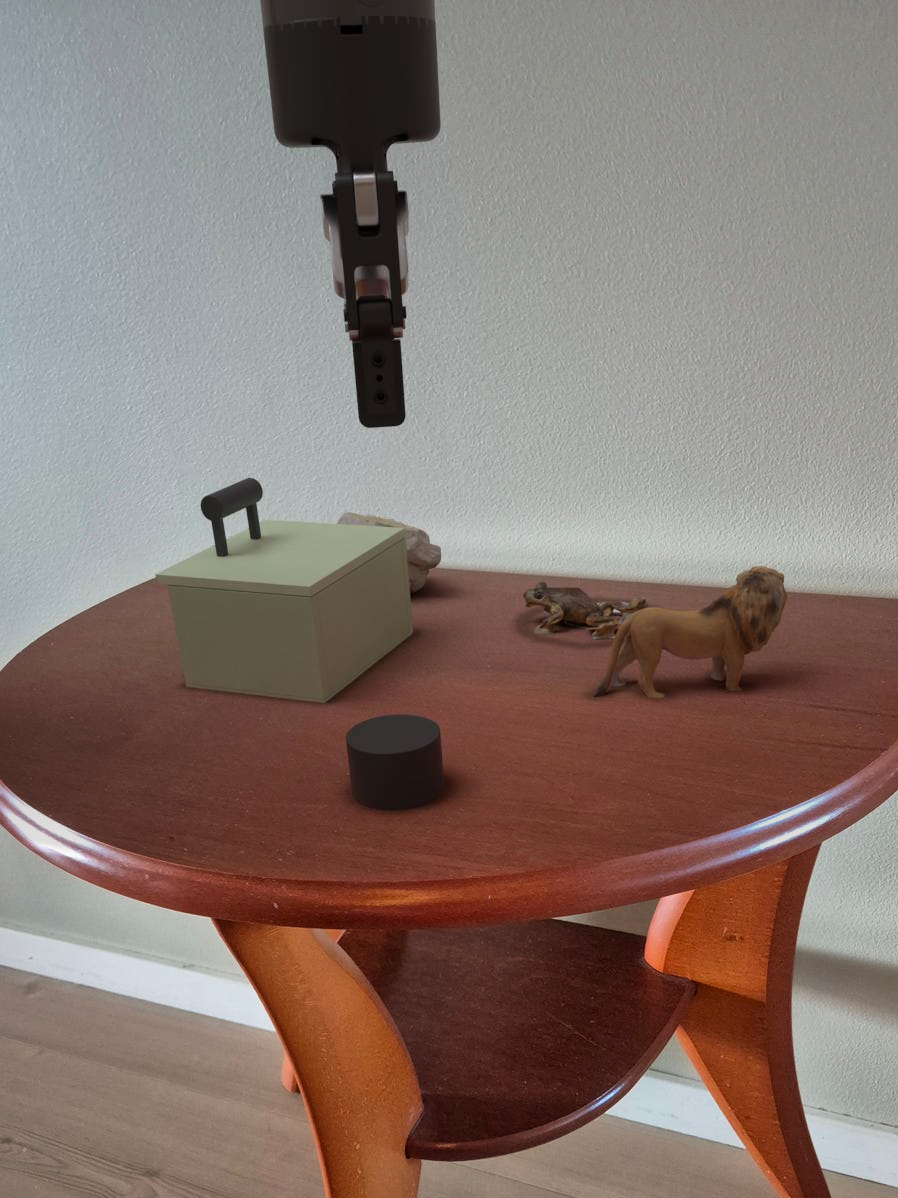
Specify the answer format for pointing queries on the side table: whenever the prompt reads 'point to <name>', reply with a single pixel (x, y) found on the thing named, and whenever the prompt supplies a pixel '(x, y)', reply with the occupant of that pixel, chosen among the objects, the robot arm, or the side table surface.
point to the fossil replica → (417, 546)
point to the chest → (294, 632)
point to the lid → (275, 549)
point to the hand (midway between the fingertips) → (380, 409)
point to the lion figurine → (702, 631)
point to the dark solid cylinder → (395, 762)
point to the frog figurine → (579, 610)
